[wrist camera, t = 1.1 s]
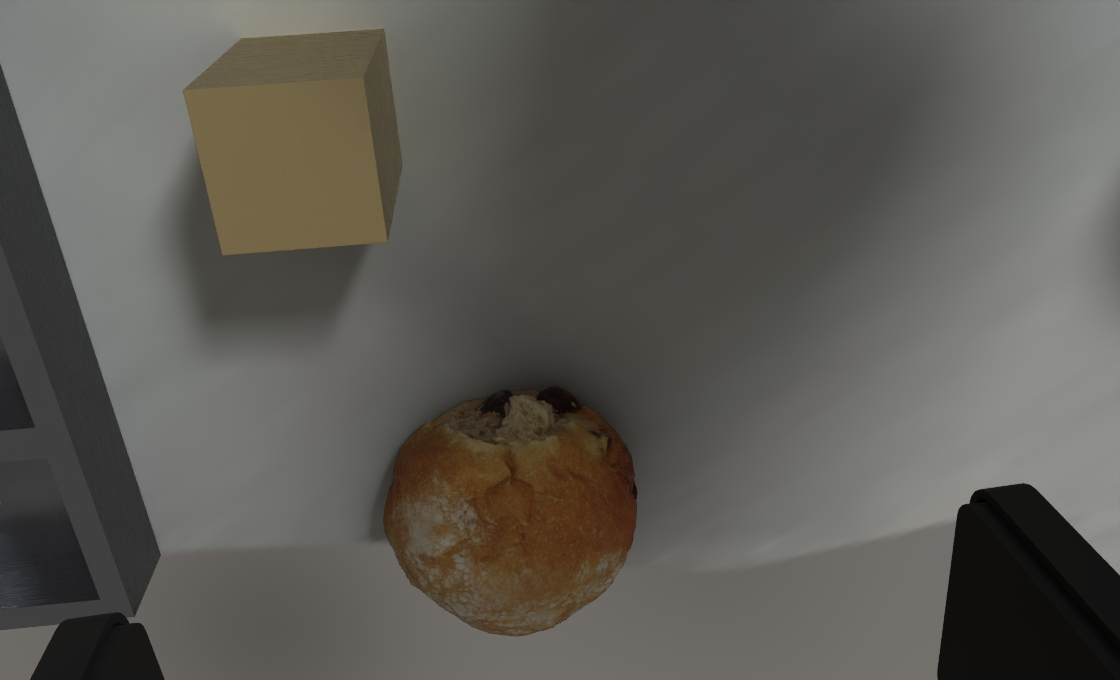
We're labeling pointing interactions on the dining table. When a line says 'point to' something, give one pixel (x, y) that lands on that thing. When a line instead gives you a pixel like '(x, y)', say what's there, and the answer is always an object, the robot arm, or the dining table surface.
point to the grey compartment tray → (56, 429)
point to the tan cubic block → (298, 141)
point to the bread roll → (513, 509)
